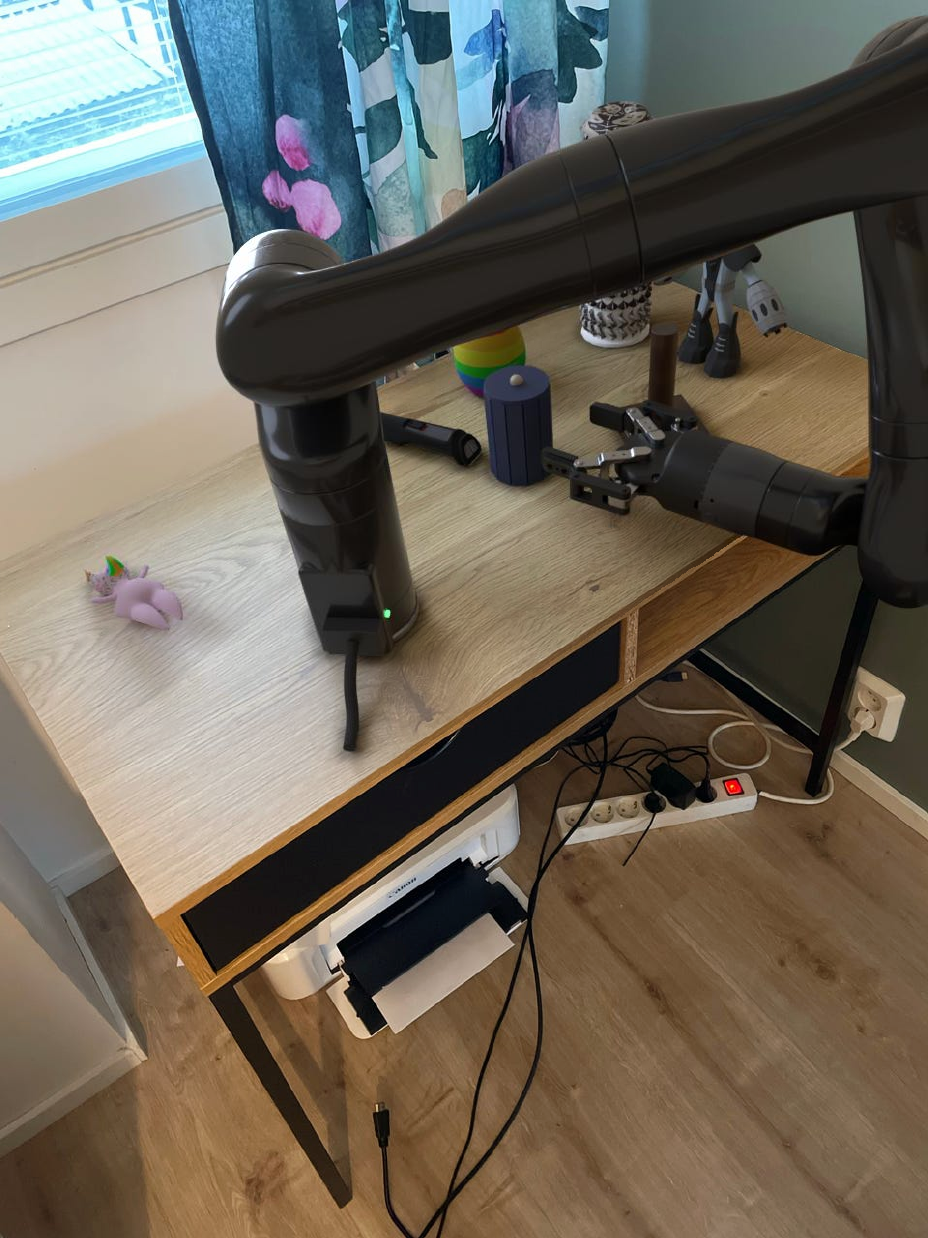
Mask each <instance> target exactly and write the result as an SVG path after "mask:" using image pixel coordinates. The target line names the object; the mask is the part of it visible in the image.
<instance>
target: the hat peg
mask: <svg viewBox="0 0 928 1238" xmlns="http://www.w3.org/2000/svg"><path fill="white" fill-rule="evenodd" d="M679 331H680V328H679V326H678V325H677V324H676V323H673V322H669V321H662V322H657V323H655V324H654V325H652V327H651V329H650V346H649V347H650V349H649V370H648V387H647V388H648V390H647V400H652V401H655V402H658V403H661V404H664V405H667V406H670V407H673V408H676V409H679V410H682V411H685V412H688V413H691V414H694V415H696V416H698V414H697V413H696V412H695V410H694V409H693V408H692V407H691V405H690V403H688V401H687V399H686V398H685V397H684V396H683V394H681V393H679V394H675V388H676V387H675V386H676V372H677V361H678V360H677V359H678V355H677V352H678V346H679ZM642 402H643V401H642ZM642 402H638V403H632V404H628V405H623V406H619V407H620V408H624V409H628V408H631V407H635V408H639V407H641V406H642ZM654 419H656V420H659V421H662V418H661V416H660V415H657V414H654ZM697 430H698V431H701V432H704V433H708V434H711V432H710V431H709V429H708V427H706V425H705V424H704V423H703V421H702V419H700V417H699V416H698V427H697ZM617 433H618V435H619V436H620V438H621V439H622V441H623V444H625V443H626V441H627V439H628V438H629V436H628V435H627V433H626V430H625V431H624V432H623V433H620V432H617Z"/></svg>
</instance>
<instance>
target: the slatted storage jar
mask: <svg viewBox="0 0 928 1238" xmlns="http://www.w3.org/2000/svg"><path fill="white" fill-rule="evenodd" d="M551 384H552V383H551V380H550V376H549V374H547V372H545V371H544V370H542V369H541V368H538V367H535V366H531V365H525V366H510V367H506V368H502V369H500V370H497V371H495V372H493V373H492V374H491V375H489V376H488V377H487V379H486V380H485V382H484V392H483V393H484V396H483V401H484V403H483V404H484V412H485V420H486V431H487V440H488V451H489V452H488V453H489V460H490V471H491V473H492V475H493V476H494V477H495V479H496V480H497V481H498V482H500V483H502V484H505V485H508V486H513V487H527V486H532V485H534V484H537V483H540V482H542V481H544V480H545V479H547V478H548V477H549V476H550V475H551V474H552V473H549V472H547V471H546V470H544V468H543V467H542V463H541V451H542V450H543V449H544V448H545V447H547V446H549V447H552V448H554V437H553V434H554V433H553V411H552V410H553V409H552V391H551V390H552V387H551Z"/></svg>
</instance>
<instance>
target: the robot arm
mask: <svg viewBox="0 0 928 1238" xmlns="http://www.w3.org/2000/svg"><path fill="white" fill-rule="evenodd" d="M583 140H584V139H583ZM583 140H581V141H578V142H575V143H571V144H570V145H567V146H564V147H561V148H558V149H556V150H553V151H551V152H548V153H546V154H543V155H541V156H538V157H536V158H534V159H532V160H530V161H528V162H526V163H524V164H522V165H521V166H518V167H516V168H515V169H513V170H512V171H510V172H508V173H507V174H506V175H504V176H503V177H501V178H499V179H498V180H496V181H495V182H494V183H492V184H491V185H490V186H488V187H486V188H485V189H483V190H482V191H481V192H480V193H478V194H477V195H475V196H474V197H472V198H471V199H470V200H468V201H467V202H466V203H465V204H463V205H462V206H461V207H459V208H458V209H457V210H455V211H454V212H452V213H451V214H450V215H449V216H448V217H446V218H445V219H443V220H442V221H440V222H438V223H437V224H436V225H435V226H433V227H431V228H430V229H428V230H427V231H425V232H423V233H421V234H420V235H418V236H416V237H414V238H412V239H410V240H408V241H406V242H404V243H402V244H400V245H397V246H394V247H392V248H389V249H387V250H384V251H382V252H378V253H375V254H372V255H367V256H365V257H361V258H359V259H355V260H352V261H349V262H346V261H345V260H344V258H343V257H342V256H341V255H340V253H338V252H337V250H335V248H333V247H332V246H331V245H330V244H328V242H326V241H324V240H323V239H321V238H319V237H318V236H316V235H314V234H312V233H309V232H306V231H302V230H298V229H288V228H281V229H273V230H269V231H265V232H263V233H260V234H258V235H256V236H254V237H252V238H251V239H249V240H248V241H247V242H245V243H244V244H243V245H242V246H241V247H240V248H239V249H238V251H237V252H236V253H235V254H234V256H233V257H232V259H231V261H230V263H229V265H228V267H227V270H226V272H225V274H224V275H225V276H224V279H223V285H222V290H221V296H220V300H219V306H218V311H217V316H216V324H215V334H214V335H215V336H214V337H215V352H216V358H217V363H218V365H219V369H220V372H221V373H222V375H223V377H224V378H225V380H226V381H227V383H228V384H229V385H230V387H231V388H233V389H234V390H235V391H236V392H237V393H238V394H239V395H241V396H242V397H244V398H245V399H248V400H249V401H252V403H253V407H254V414H255V422H256V431H257V439H258V445H259V446H258V447H259V451H260V455H261V457H262V461H263V464H264V467H265V470H266V472H267V475H268V480H269V482H270V485H271V489H272V491H273V494H274V497H275V500H276V503H277V504H276V505H277V507H278V510H279V514H280V516H281V520H282V523H283V527H284V529H285V533H286V535H287V538H288V541H289V545H290V548H291V550H292V554H293V557H294V560H295V563H296V566H297V569H298V570H297V575H298V578H299V581H300V585H301V588H302V590H303V594H304V597H305V599H306V603H307V606H308V609H309V613H310V615H311V618H312V621H313V624H314V628H315V631H316V634H317V637H318V640H319V642H320V646H321V649H322V651H324V652H326V651H327V653H328V655H339V656H340V655H341V656H343V655H345V656H344V657H345V658H344V659H345V660H344V670H343V671H344V672H343V673H344V674H343V692H344V693H343V694H344V703H345V710H346V713H345V714H346V726H345V734H344V738H343V739H344V740H343V745H342V749H343V750H344V751H345V752H347V753H352V752H354V751H356V749H357V742H358V736H359V729H360V707H359V701H358V691H357V690H358V689H357V675H358V674H357V672H358V657H359V656H369V657H371V656H373V657H384V654H387V653H390V652H392V649H393V646H394V644H395V643H396V642H398V641H399V640H401V639H402V638H404V636H406V635H407V634H408V633H409V631H410V630H411V629H412V628H413V627H414V625H415V623H416V621H417V619H418V616H419V612H420V610H419V609H420V605H419V604H420V603H419V600H418V595H417V592H416V590H415V585H414V580H413V574H412V570H411V566H410V562H409V561H410V560H409V556H408V551H407V547H406V546H407V545H406V541H405V536H404V531H403V527H402V521H401V517H400V512H399V507H398V502H397V497H396V492H395V486H394V482H393V476H392V471H391V467H390V461H389V457H388V451H387V446H386V445H387V444H386V441H385V439H384V434H383V428H382V421H381V414H380V412H381V408H380V400H379V393H378V387H377V383H376V381H378V380H380V379H382V378H384V377H386V376H389V375H391V374H394V373H395V372H397V371H400V370H402V369H404V368H407V367H409V366H411V365H413V364H415V363H417V362H419V361H422V360H424V359H426V358H429V357H431V356H434V355H436V354H438V353H442V352H444V351H446V350H448V349H451V348H454V346H457V345H460V344H463V343H466V342H469V341H473V340H476V339H479V338H482V337H485V336H489V335H491V334H494V333H497V332H500V331H503V330H506V329H509V328H512V327H515V326H518V327H519V326H520V325H523V324H526V323H529V322H532V321H534V320H538V319H541V318H543V317H546V316H549V315H552V314H556V313H559V312H562V311H565V310H569V309H572V308H576V307H580V305H583V304H587V303H591V302H593V301H597V300H600V299H603V298H606V297H609V296H612V295H615V294H618V293H621V292H624V291H627V290H630V289H633V288H636V287H638V286H639V285H640V286H642V285H645V284H648V283H650V282H652V283H653V281H655V280H658V279H661V278H663V277H666V276H668V275H671V274H674V273H677V272H679V271H682V270H685V269H688V268H689V269H691V268H693V267H696V266H699V265H703V263H705V262H707V261H710V260H713V259H716V258H718V257H721V256H724V255H727V254H729V253H732V252H734V251H737V250H739V249H742V248H744V247H747V246H750V245H752V244H755V245H756V244H758V243H759V242H762V241H764V240H766V239H769V238H772V237H774V236H776V235H779V234H781V233H784V232H787V231H789V230H792V229H795V228H797V227H800V226H804V225H807V224H810V223H813V222H817V221H821V220H824V219H828V218H832V217H835V216H840V215H843V214H848V213H852V215H853V223H854V229H855V235H856V243H857V251H858V258H859V266H860V274H861V275H860V276H861V281H862V282H861V283H862V292H863V303H864V317H865V327H866V328H865V330H866V349H867V351H866V353H867V396H868V397H867V412H868V413H867V428H868V429H867V432H868V433H867V436H868V437H867V439H868V443H867V445H868V446H867V447H868V456H869V457H868V459H869V468H868V474H867V477H865V476H863V477H861V476H841V475H836V474H832V473H829V472H826V471H823V470H820V469H817V468H813V467H810V466H807V465H803V464H800V463H797V462H793V461H791V460H788V459H785V458H782V457H780V456H777V455H775V454H773V453H771V452H769V451H766V450H765V449H761V448H758V447H754V446H751V445H748V444H744V443H741V442H738V441H735V440H731V439H728V438H724V437H721V436H717V435H715V434H711V433H710V434H708V433H704V432H701V431H698V430H697V427H698V417H699V416H698V415H697V414H696V415H697V416H696V415H694V414H691V413H688V412H685V411H682V410H679V409H676V408H673V407H670V406H667V405H664V404H661V403H658V402H655V401H652V400H648V399H646V400H643V401H642V406H641V407H639V408H635V407H631V408H628V409H624V408H620V407H621V406H616V405H614V404H610V403H607V402H600V401H594V402H592V404H590V405H589V407H588V408H589V409H588V411H589V412H588V414H589V422H590V423H591V424H592V425H595V426H598V427H601V428H603V429H608V430H611V431H614V432H617V433H618V432H620V433H623V432H624V431H625V430H626V433H627V435H628V436H629V438H628V439H627V441H626V443H623V444H622V445H620V446H619V447H618V448H617V449H615V450H613V451H602V452H601V453H600V454H599V455H598V456H594V457H583V458H579V455H576V454H573V453H571V452H567V451H564V450H561V449H558V448H555V447H553V448H552V447H549V446H547V447H545V448H544V449H543V450H542V451H541V463H542V467H543V468H544V470H546V471H547V472H549V473H551V474H552V475H554V476H558V477H561V478H563V479H566V480H568V481H569V499H570V500H572V501H574V502H577V503H581V504H584V505H588V506H590V507H594V508H596V509H600V510H603V511H606V512H609V513H613V514H616V515H620V516H628V515H630V513H631V511H632V510H631V506H632V503H633V501H634V500H635V499H636V498H637V497H638V496H639V497H641V496H644V497H651V498H653V499H655V500H656V502H657V503H658V504H659V505H660V507H661V508H662V509H663V510H665V511H668V512H669V513H670V512H671V513H673V514H675V515H679V516H682V517H685V518H687V519H690V520H692V521H697V522H699V523H702V524H705V525H708V526H710V527H713V528H716V529H718V530H722V531H725V532H727V533H731V534H735V535H738V536H743V537H748V538H752V539H755V540H756V539H757V540H759V541H762V542H765V543H768V544H771V545H773V546H777V547H779V548H783V549H785V550H788V551H790V552H793V553H797V554H800V555H805V556H809V557H819V556H823V555H824V554H826V553H828V552H830V551H832V550H834V549H835V548H837V547H841V546H852V547H856V557H857V565H858V571H859V573H860V576H861V579H862V580H863V581H862V582H863V583H864V584H865V586H866V588H867V589H868V590H869V592H870V593H872V595H873V596H874V597H876V598H877V599H878V600H879V601H881V602H883V603H885V604H886V605H889V606H892V607H894V608H899V609H904V610H905V609H908V610H909V609H910V610H911V609H918V608H922V607H926V606H928V14H925V15H923V14H922V15H918V16H912V17H907V18H904V19H902V20H898V21H896V22H893V23H892V24H890V25H888V26H887V27H885V28H884V29H882V30H880V31H879V32H878V33H876V34H875V35H874V36H873V37H872V38H871V39H870V40H869V41H867V42H866V43H865V44H864V45H863V47H862V48H861V49H860V51H859V52H858V53H857V54H856V56H855V57H854V58H853V59H852V62H851V64H850V66H849V67H848V69H845V70H844V71H841V72H839V73H836V74H834V75H832V76H829V77H827V78H824V79H822V80H820V81H816V82H815V83H812V84H809V85H806V86H804V87H801V88H799V89H798V88H797V89H795V90H792V91H788V92H785V93H782V94H779V95H778V94H777V95H773V96H769V97H765V98H760V99H755V100H750V101H743V102H738V103H730V104H724V105H719V106H718V105H717V106H712V107H706V108H700V109H695V110H690V111H685V112H680V113H676V114H670V115H666V116H662V117H658V118H655V119H653V120H649V121H645V122H641V123H637V124H634V125H630V126H626V127H623V128H620V129H616V130H613V131H609V132H606V133H605V134H600V135H598V136H595V137H592V138H589V139H586V140H584V141H583ZM654 414H657V415H660V416H661V418H662V421H659V420H656V419H654ZM612 465H613V470H614V474H615V475H616V476H610V467H611V466H612ZM592 470H593V471H594V470H599V473H597V474H589V473H588V471H592ZM586 488H588V489H590V491H588V490H585V489H586Z"/></svg>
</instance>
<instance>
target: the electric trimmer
mask: <svg viewBox="0 0 928 1238" xmlns="http://www.w3.org/2000/svg"><path fill="white" fill-rule="evenodd" d="M380 414H381V421H382V428H383V434H384V439H385V443H386V442H387V443H389V444H391V445H394V446H396V447H404V446H408V445H409V446H413V447H416V448H419V449H423V450H426V451H429V452H433V453H436V454H439V455H443V456H446V457H449V458H452V459H453V460H454V461H455V463H456V464H457V465H458V466H461V467H463V466H465V465H467V466H468V467H471V466H472V465H473V464H474V463H475V461H476V460H477V459H478V458H479V457H480V456H481V453H482V445H481V443H480V441H479V440H478V439H477V438H476V436H474V435H473V434H472V433H469V432H466V431H465V429H462V428H453V427H449V426H445V425H440V424H437V423H432V422H427V421H422V420H419V419H415V418H409V417H404V416H401V415H400V416H399V415H395V414H390V413H387V412H383V411H380Z"/></svg>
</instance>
